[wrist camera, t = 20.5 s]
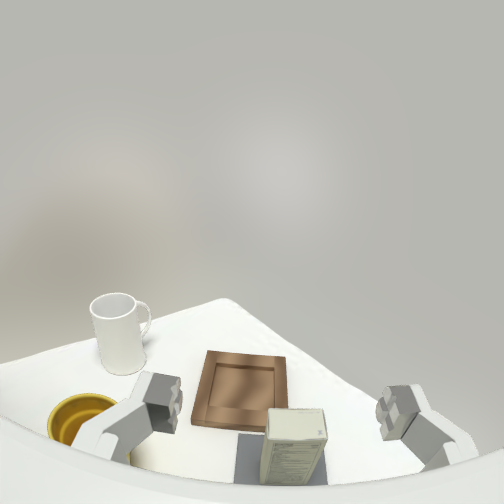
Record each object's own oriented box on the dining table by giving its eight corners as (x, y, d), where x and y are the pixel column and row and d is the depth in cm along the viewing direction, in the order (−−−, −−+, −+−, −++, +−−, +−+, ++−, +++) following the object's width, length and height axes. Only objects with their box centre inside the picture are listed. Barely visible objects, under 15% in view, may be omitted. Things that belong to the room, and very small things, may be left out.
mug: (144, 333, 59) (138, 281, 55) (169, 355, 54) (164, 300, 50) (94, 356, 51) (80, 301, 46) (115, 382, 46) (100, 326, 41)
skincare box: (305, 460, 35) (325, 407, 30) (306, 486, 31) (330, 439, 26) (258, 458, 35) (267, 405, 31) (257, 486, 31) (267, 438, 26)
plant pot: (118, 424, 38) (102, 380, 34) (159, 471, 32) (146, 433, 28) (62, 451, 31) (35, 410, 27) (97, 506, 25) (68, 474, 21)
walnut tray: (191, 424, 40) (190, 418, 40) (207, 356, 55) (207, 350, 55) (287, 433, 40) (288, 427, 40) (284, 363, 55) (285, 356, 54)
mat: (231, 506, 28) (231, 505, 28) (238, 435, 39) (238, 433, 39) (328, 507, 28) (329, 506, 28) (321, 438, 39) (322, 436, 39)
